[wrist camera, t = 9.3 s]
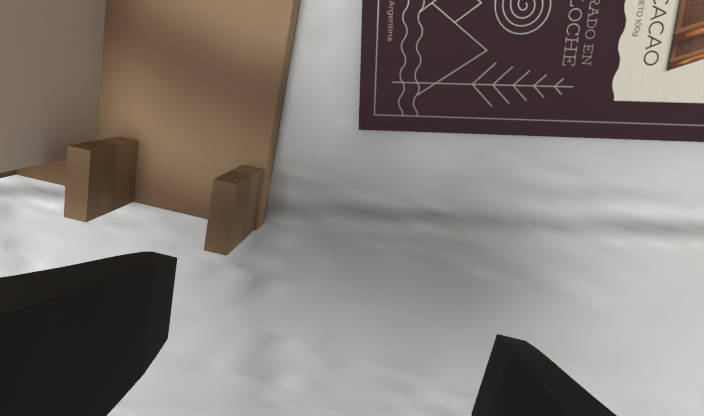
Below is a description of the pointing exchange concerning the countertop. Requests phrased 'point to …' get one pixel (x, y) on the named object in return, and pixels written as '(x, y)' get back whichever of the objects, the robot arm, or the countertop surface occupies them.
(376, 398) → the countertop surface
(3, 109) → the clay slab
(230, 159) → the pegged wooden tray
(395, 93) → the chocolate bar
